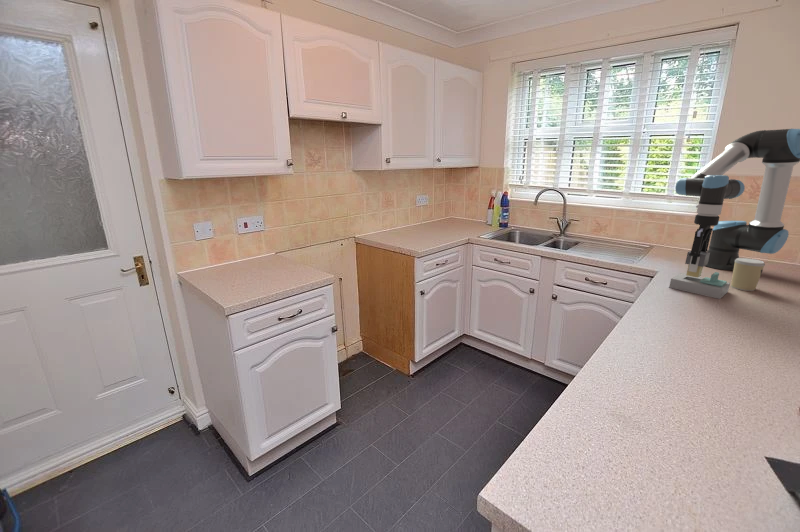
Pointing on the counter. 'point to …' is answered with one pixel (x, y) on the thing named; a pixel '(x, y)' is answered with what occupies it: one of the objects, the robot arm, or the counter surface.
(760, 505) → the counter surface
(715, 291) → the socket plate
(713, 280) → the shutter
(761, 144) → the robot arm
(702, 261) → the plug
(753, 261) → the coffee cup
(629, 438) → the counter surface
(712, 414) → the counter surface
